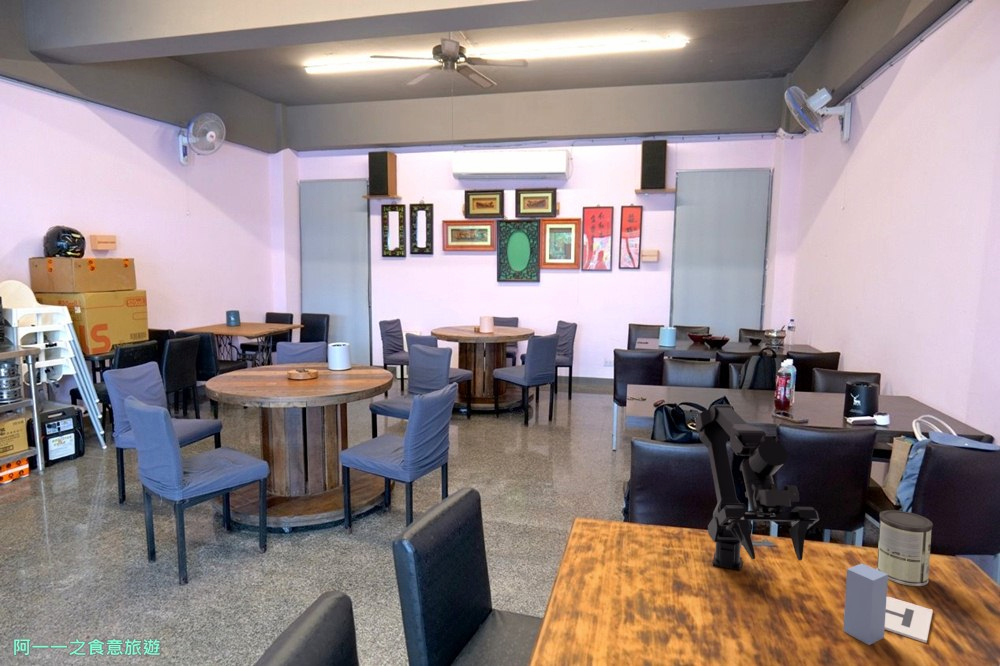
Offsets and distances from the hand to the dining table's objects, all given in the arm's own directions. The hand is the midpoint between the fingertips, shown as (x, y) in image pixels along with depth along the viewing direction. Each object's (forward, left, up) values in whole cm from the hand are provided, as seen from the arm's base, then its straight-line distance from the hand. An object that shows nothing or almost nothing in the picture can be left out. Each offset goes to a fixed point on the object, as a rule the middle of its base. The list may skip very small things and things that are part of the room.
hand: (776, 559), depth 115 cm
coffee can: (-37, +27, -14) cm, 48 cm away
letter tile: (-16, +22, -14) cm, 31 cm away
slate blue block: (-5, +16, -14) cm, 22 cm away
